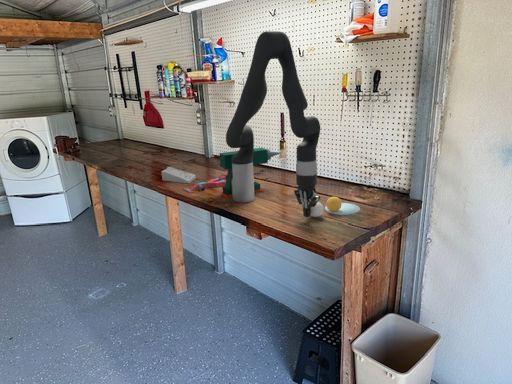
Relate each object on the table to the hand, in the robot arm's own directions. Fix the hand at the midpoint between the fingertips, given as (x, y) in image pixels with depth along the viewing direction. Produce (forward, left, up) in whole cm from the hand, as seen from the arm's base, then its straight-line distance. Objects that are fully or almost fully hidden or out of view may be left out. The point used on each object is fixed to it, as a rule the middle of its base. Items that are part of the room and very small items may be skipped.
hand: (306, 216), depth 143 cm
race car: (-68, +9, -2) cm, 69 cm away
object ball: (+3, +14, +2) cm, 15 cm away
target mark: (+4, +19, -2) cm, 19 cm away
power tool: (-44, +17, -2) cm, 47 cm away
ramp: (-96, +10, -2) cm, 96 cm away
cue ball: (0, +5, +2) cm, 5 cm away
